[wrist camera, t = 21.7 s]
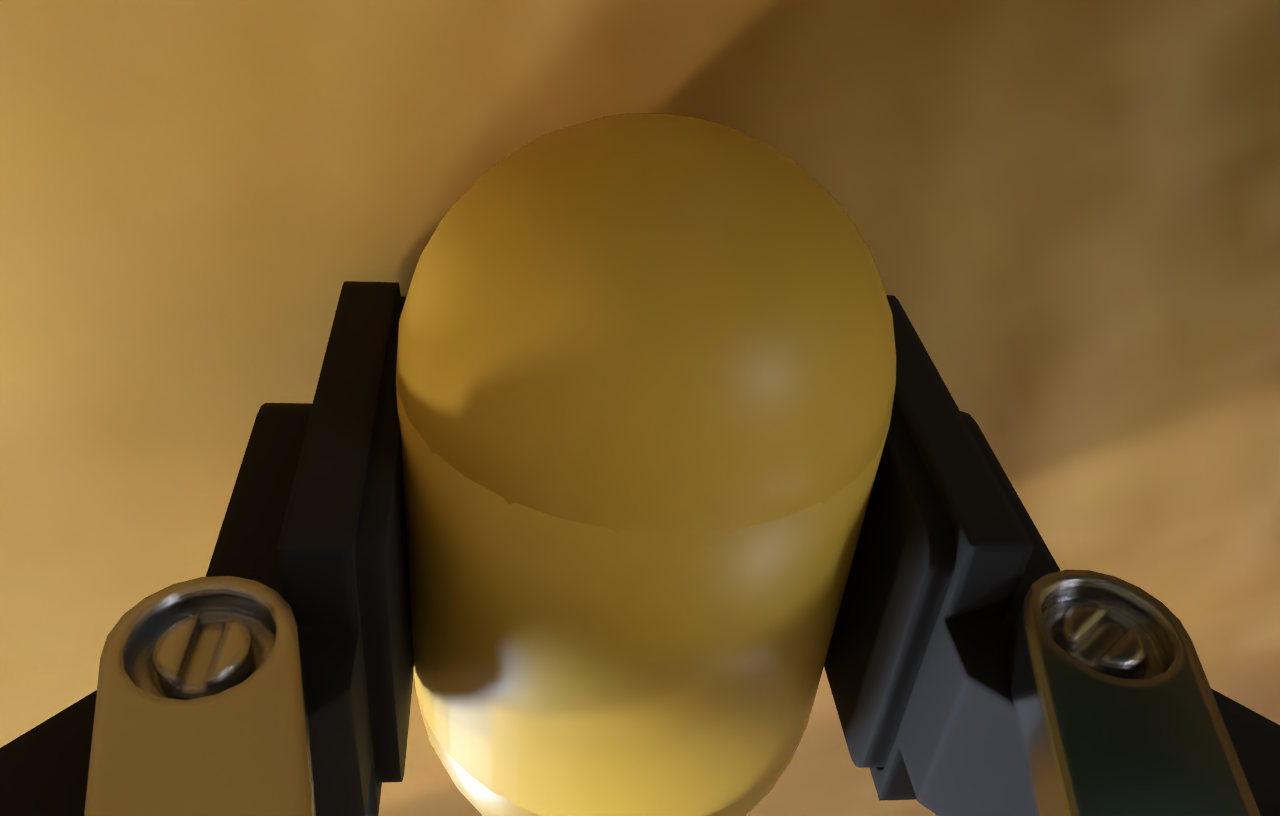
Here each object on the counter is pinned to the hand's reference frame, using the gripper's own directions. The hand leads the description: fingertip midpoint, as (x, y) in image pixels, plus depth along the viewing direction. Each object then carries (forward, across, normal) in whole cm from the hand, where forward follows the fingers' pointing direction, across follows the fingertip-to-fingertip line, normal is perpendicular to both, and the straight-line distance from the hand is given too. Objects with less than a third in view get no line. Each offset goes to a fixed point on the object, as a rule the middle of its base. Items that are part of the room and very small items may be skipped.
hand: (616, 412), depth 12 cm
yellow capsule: (0, 0, 0) cm, 0 cm away
